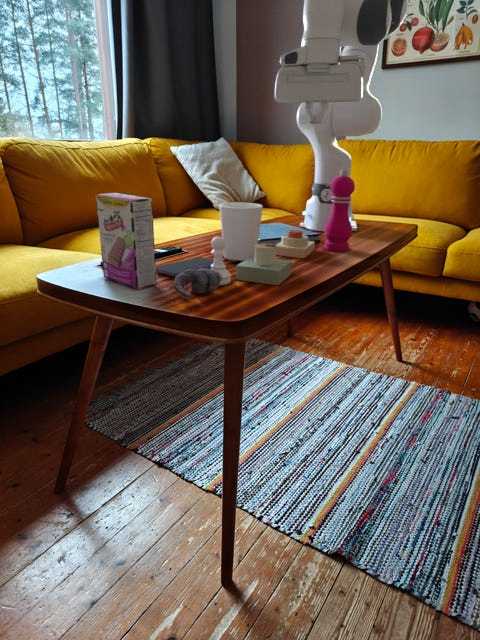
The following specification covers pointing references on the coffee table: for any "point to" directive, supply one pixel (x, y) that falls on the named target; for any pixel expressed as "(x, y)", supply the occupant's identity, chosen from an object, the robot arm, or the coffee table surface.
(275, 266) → the dial panel
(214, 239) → the chess pawn
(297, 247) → the button box
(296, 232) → the button
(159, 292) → the coffee table surface
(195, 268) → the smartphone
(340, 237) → the pepper mill
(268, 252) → the knob
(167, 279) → the coffee table surface
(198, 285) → the grey elephant figurine
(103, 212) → the candy bar box
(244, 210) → the cup
